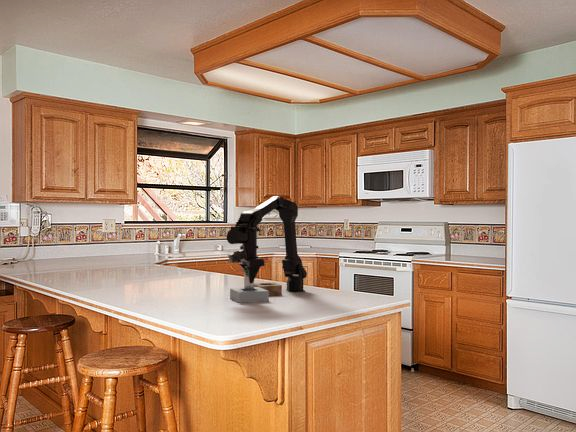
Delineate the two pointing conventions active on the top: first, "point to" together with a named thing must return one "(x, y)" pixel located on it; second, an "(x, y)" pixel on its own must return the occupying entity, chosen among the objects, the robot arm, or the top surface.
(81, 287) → the top surface
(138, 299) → the top surface
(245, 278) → the lock pin
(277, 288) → the pin mount
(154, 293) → the top surface
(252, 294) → the socket block
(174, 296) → the top surface
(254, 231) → the robot arm
